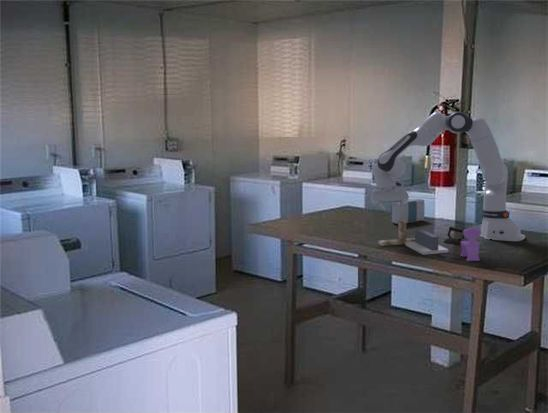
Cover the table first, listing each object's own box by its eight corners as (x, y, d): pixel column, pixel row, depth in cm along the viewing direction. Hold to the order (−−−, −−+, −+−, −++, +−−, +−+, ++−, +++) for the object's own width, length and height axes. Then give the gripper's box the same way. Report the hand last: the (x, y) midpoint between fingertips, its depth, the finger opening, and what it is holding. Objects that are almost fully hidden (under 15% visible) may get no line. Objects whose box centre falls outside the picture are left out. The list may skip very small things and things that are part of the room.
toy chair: (475, 255, 285) (476, 224, 283) (482, 260, 277) (483, 227, 274) (457, 256, 285) (458, 224, 283) (464, 261, 276) (465, 228, 274)
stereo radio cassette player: (399, 225, 357) (400, 191, 354) (389, 223, 364) (390, 190, 360) (425, 221, 368) (425, 188, 365) (414, 219, 375) (415, 186, 372)
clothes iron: (450, 241, 317) (455, 223, 315) (468, 249, 309) (474, 231, 307) (442, 242, 313) (447, 223, 310) (461, 250, 305) (466, 232, 302)
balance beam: (422, 241, 318) (422, 218, 316) (425, 242, 314) (425, 219, 312) (378, 244, 313) (378, 221, 311) (381, 246, 309) (381, 222, 307)
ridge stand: (405, 245, 308) (405, 229, 307) (429, 243, 311) (429, 228, 310) (423, 254, 289) (423, 238, 288) (448, 252, 292) (448, 236, 290)
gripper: (369, 185, 325) (376, 206, 317) (405, 183, 329) (413, 204, 321) (366, 192, 330) (373, 213, 322) (402, 190, 334) (409, 211, 326)
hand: (393, 208), depth 322 cm, fingers open, 8 cm apart
